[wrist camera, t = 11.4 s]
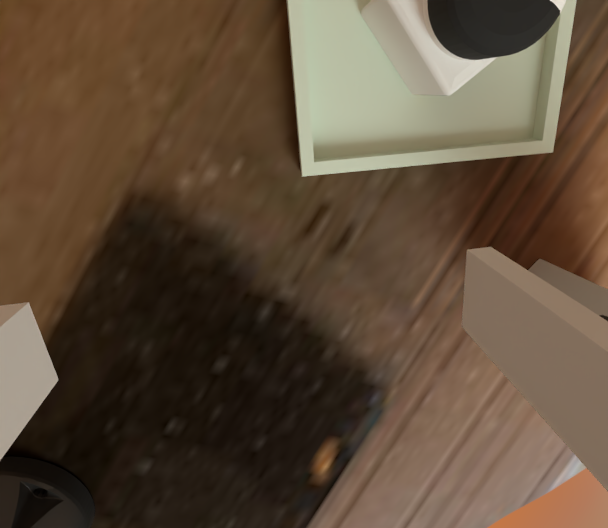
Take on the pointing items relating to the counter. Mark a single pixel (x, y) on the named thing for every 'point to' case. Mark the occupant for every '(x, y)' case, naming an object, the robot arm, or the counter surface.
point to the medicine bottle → (454, 36)
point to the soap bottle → (573, 286)
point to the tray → (414, 97)
